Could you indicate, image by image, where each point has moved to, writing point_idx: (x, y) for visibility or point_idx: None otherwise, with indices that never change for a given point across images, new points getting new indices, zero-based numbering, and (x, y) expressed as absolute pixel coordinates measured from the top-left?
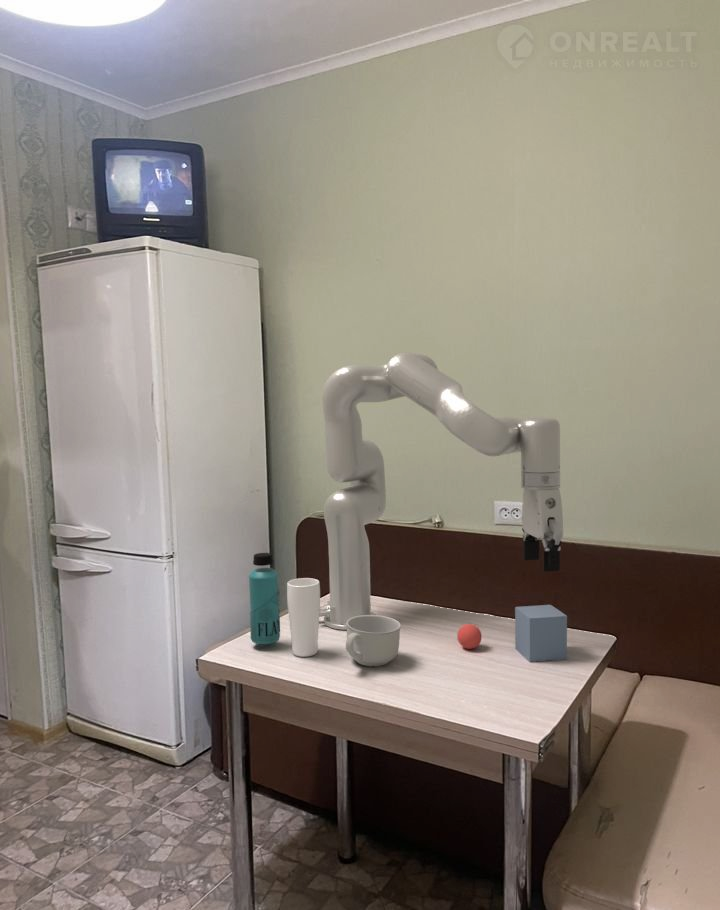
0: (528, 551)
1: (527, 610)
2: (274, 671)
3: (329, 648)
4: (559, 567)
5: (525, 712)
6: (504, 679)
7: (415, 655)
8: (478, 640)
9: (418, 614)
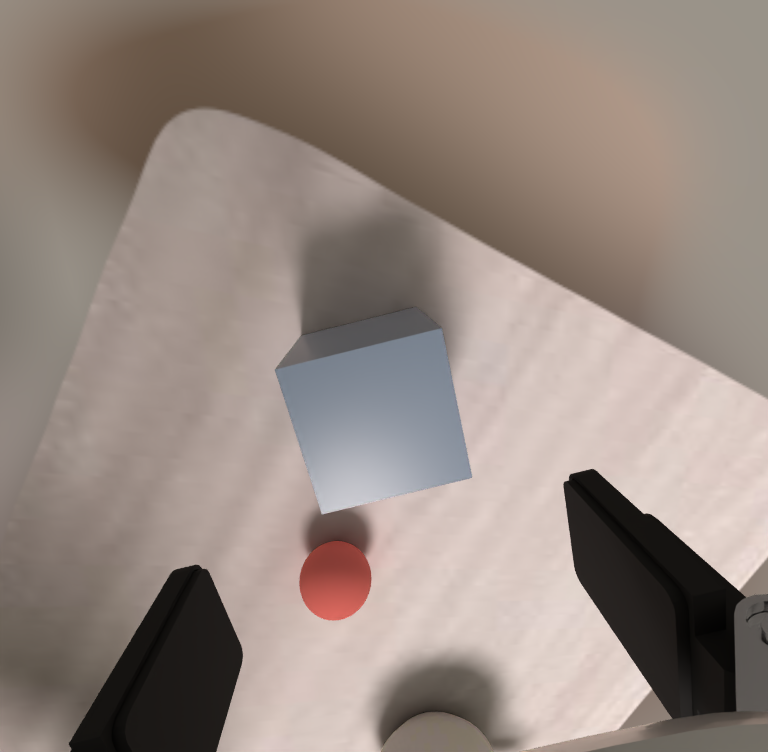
0: (214, 705)
1: (368, 474)
2: None
3: None
4: (602, 477)
5: (729, 459)
6: (550, 486)
7: (395, 666)
8: (360, 555)
9: (57, 679)
